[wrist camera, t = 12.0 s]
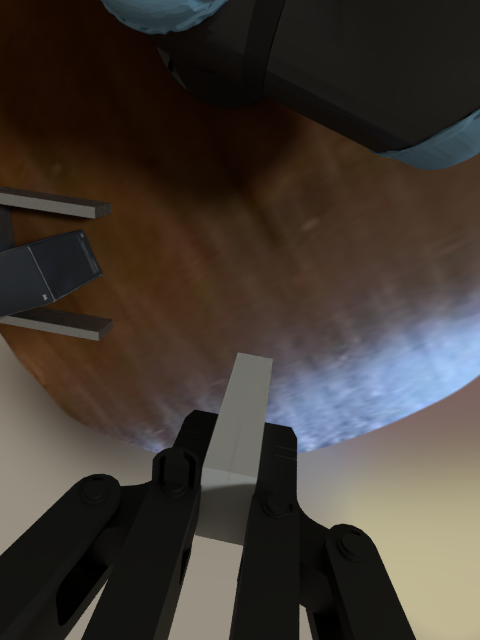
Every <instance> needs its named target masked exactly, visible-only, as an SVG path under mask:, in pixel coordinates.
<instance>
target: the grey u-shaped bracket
mask: <svg viewBox="0 0 480 640" xmlns="http://www.w3.org/2000/svg"><path fill="white" fill-rule="evenodd" d="M10 205H11V206H17V207H24V208H30V209H37V210H43V211H49V212H56V213H62V214H69V215H75V216H81V217H88V218H94V219H95V218H99V217H102V216H105V215H108V214H111V203H107V202H101V201H94V200H87V199H81V198H74V197H68V196H61V195H55V194H48V193H41V192H35V191H28V190H22V189H15V188H9V187H0V253H1V252H4V251H7V250H10V249H13V248H15V242H14V234H13V225H12V217H11V208H10ZM0 323H4V324H9V325H15V326H20V327H26V328H31V329H37V330H42V331H48V332H53V333H59V334H64V335H70V336H75V337H81V338H86V339H92V340H97V341H99V340H100V339H101V338H102V337H103V336H104V335H106V334H107V333H108V332H109V331H110V330H111V329H112V328H113V320H111V319H106V318H100V317H94V316H89V315H83V314H78V313H72V312H66V311H61V310H55V309H49V308H44V307H36V308H32V309H28V310H25V311H21V312H18V313H15V314H11V315H7V316H4V317H0Z"/></svg>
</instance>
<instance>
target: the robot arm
mask: <svg viewBox="0 0 480 640" xmlns="http://www.w3.org/2000/svg"><path fill="white" fill-rule="evenodd" d="M101 1H102V2H103V4H104V6H105V8H106V9H107V10H108V11H109V12H110V13H111V14H113V15H115V17H116V18H117V19H118V20H119V21H120V22H122V23H123V24H125V25H127V26H128V27H130V28H132V29H135V30H138V31H140V32H141V33H142V34H144V35H145V36H146V37H148V38H149V39H150V40H152V41H153V42H154V43H155V45H156V48H157V50H158V53H159V55H160V57H161V59H162V61H163V63H164V65H165V67H166V68H167V70H168V71H169V73H170V74H171V76H172V77H173V78H174V79H175V81H176V82H177V83H178V84H179V85H180V86H181V87H182V88H183V89H184V90H186V91H187V92H188V93H189V94H191V95H192V96H194V97H196V98H197V99H199V100H201V101H203V102H205V103H207V104H209V105H212V106H215V107H219V108H224V109H242V108H247V107H251V106H254V105H257V104H259V103H261V102H263V101H265V100H267V99H269V98H270V99H272V100H274V101H276V102H278V103H280V104H282V105H284V106H286V107H287V108H289V109H291V110H293V111H295V112H297V113H299V114H301V115H303V116H305V117H307V118H309V119H311V120H313V121H315V122H317V123H319V124H321V125H323V126H325V127H327V128H329V129H331V130H333V131H335V132H337V133H339V134H341V135H343V136H345V137H347V138H349V139H351V140H353V141H355V142H357V143H359V144H361V145H363V146H365V147H367V148H368V149H369V150H370V151H371V152H372V153H374V154H378V155H380V156H381V157H391V158H394V159H396V160H399V161H401V162H403V163H406V164H408V165H411V166H413V167H415V168H418V169H424V170H437V169H443V168H447V167H450V166H453V165H456V164H458V163H461V162H463V161H465V160H467V159H469V158H471V157H473V156H474V155H476V154H478V153H479V152H480V0H101ZM272 363H273V359H271V358H265V357H260V356H254V355H249V354H243V353H238V355H237V358H236V361H235V364H234V367H233V371H232V374H231V377H230V380H229V384H228V387H227V390H226V393H225V396H224V400H223V403H222V406H221V409H220V412H219V414H215V413H210V412H204V411H199V410H194V411H193V412H191V413H190V414H189V415H188V416H187V417H185V420H184V422H183V424H182V427H181V430H180V431H179V433H178V436H177V438H176V440H175V443H174V445H173V447H172V448H167V449H164V450H163V451H161V452H159V453H158V454H157V455H156V456H155V457H154V459H153V466H152V480H151V481H149V482H147V483H144V484H140V485H131V486H120V484H119V482H118V480H116V479H115V478H114V477H112V476H110V475H106V474H93V475H90V476H88V477H84V478H83V479H81V480H80V481H78V482H77V483H76V484H74V486H72V487H71V488H70V490H69V491H67V492H66V493H65V494H64V495H63V496H62V497H61V498H60V499H59V500H58V501H57V502H56V503H55V504H54V505H53V506H52V507H51V508H49V509H48V510H47V511H46V512H45V513H44V514H43V515H42V516H41V517H40V518H39V519H38V520H37V521H36V522H35V523H34V524H33V525H32V526H31V527H30V528H29V529H28V530H27V531H26V532H25V533H24V534H22V535H21V536H20V537H19V538H18V539H17V540H16V541H15V542H14V543H13V544H12V545H11V546H10V547H9V548H8V549H7V550H6V551H5V552H4V553H3V554H2V555H1V556H0V640H64V639H65V638H66V637H67V635H68V634H69V633H70V631H71V630H72V628H73V627H74V626H75V624H76V623H77V621H78V620H79V619H80V617H81V616H82V614H83V613H84V611H85V610H86V609H87V607H88V606H89V605H90V603H91V602H92V601H93V599H94V598H95V596H96V595H97V594H98V592H99V591H100V589H101V588H102V587H103V585H104V584H105V583H106V581H107V580H108V581H107V583H106V585H105V588H104V590H103V592H102V594H101V597H100V599H99V601H98V603H97V605H96V608H95V610H94V612H93V615H92V617H91V619H90V621H89V623H88V626H87V628H86V630H85V632H84V635H83V637H82V639H81V640H168V636H169V633H170V629H171V625H172V622H173V618H174V614H175V610H176V607H177V603H178V599H179V595H180V592H181V588H182V585H183V581H184V577H185V573H186V570H187V566H188V562H189V559H190V555H191V548H192V541H193V537H194V533H195V535H197V536H202V537H207V538H211V539H216V540H220V541H224V542H229V543H234V544H238V545H242V546H243V552H242V557H241V563H240V568H239V574H238V579H237V589H236V596H235V603H234V610H233V616H232V623H231V629H230V636H229V640H299V604H301V605H302V606H304V607H305V608H306V612H307V616H308V621H309V625H310V630H311V634H312V639H313V640H416V638H415V636H414V634H413V631H412V629H411V627H410V624H409V622H408V620H407V618H406V615H405V613H404V610H403V608H402V606H401V604H400V601H399V599H398V597H397V594H396V592H395V590H394V587H393V585H392V583H391V580H390V578H389V576H388V573H387V571H386V569H385V566H384V564H383V562H382V560H381V557H380V555H379V553H378V550H377V548H376V546H375V544H374V543H373V541H372V540H371V538H370V537H369V536H368V535H367V534H365V533H364V532H363V531H362V530H361V529H359V528H357V527H355V526H352V525H347V524H339V525H334V526H333V527H332V528H331V529H328V528H326V527H324V526H322V525H320V524H318V523H316V522H315V521H313V520H312V519H310V518H309V517H308V516H307V515H306V514H305V513H304V512H303V511H302V509H301V508H300V506H299V504H298V501H297V437H296V435H295V433H294V431H293V430H292V428H291V427H287V426H281V425H276V424H271V423H266V422H265V416H266V408H267V401H268V393H269V385H270V378H271V370H272ZM108 578H109V579H108Z"/></svg>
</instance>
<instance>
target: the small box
mask: <svg viewBox="0 0 480 640" xmlns="http://www.w3.org/2000/svg"><path fill="white" fill-rule="evenodd" d="M100 276H102V272H101V269H100V267H99V265H98V263H97V261H96V259H95V256H94V254H93V252H92V249H91V247H90V245H89V242H88V240H87V238H86V236H85V234H84V232H83V230H77V231H73V232H68V233H64V234H60V235H57V236H53V237H50V238H46V239H43V240H40V241H36V242H33V243H29V244H26V245H23V246H19V247H16V248H13V249H10V250H7V251H4V252H1V253H0V317H4V316H7V315H11V314H15V313H18V312H21V311H25V310H28V309H32V308H36V307H39V306H43V305H46V304H50V303H54V302H56V301H57V300H59V299H61V298H63V297H64V296H66V295H68V294H70V293H71V292H73V291H75V290H76V289H78V288H79V287H81V286H83V285H85V284H87V283H88V282H90V281H92V280H94V279H96V278H98V277H100Z"/></svg>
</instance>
